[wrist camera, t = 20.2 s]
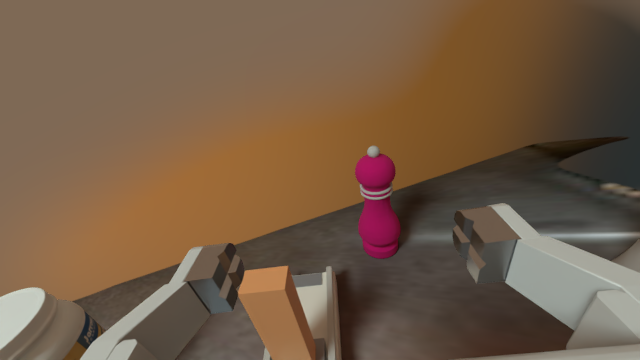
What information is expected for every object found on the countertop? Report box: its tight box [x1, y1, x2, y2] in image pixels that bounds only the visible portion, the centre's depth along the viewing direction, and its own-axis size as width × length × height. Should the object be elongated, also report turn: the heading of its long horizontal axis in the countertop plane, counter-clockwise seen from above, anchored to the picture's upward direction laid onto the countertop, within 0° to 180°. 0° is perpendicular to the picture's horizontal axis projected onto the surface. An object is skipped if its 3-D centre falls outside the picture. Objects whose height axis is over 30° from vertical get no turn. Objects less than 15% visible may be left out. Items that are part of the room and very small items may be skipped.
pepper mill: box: [355, 146, 401, 259], centre depth 41 cm, size 7×7×20 cm
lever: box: [238, 266, 326, 360], centre depth 25 cm, size 4×6×15 cm, turn 89°
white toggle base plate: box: [263, 266, 342, 360], centre depth 33 cm, size 17×9×4 cm, turn 179°
